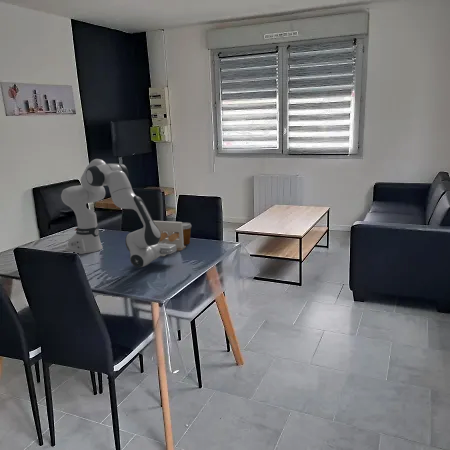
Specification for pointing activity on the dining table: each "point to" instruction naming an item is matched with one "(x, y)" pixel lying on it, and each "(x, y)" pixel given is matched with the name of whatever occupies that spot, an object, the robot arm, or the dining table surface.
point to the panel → (170, 228)
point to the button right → (173, 237)
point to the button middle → (163, 236)
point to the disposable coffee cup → (186, 232)
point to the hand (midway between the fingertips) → (164, 243)
